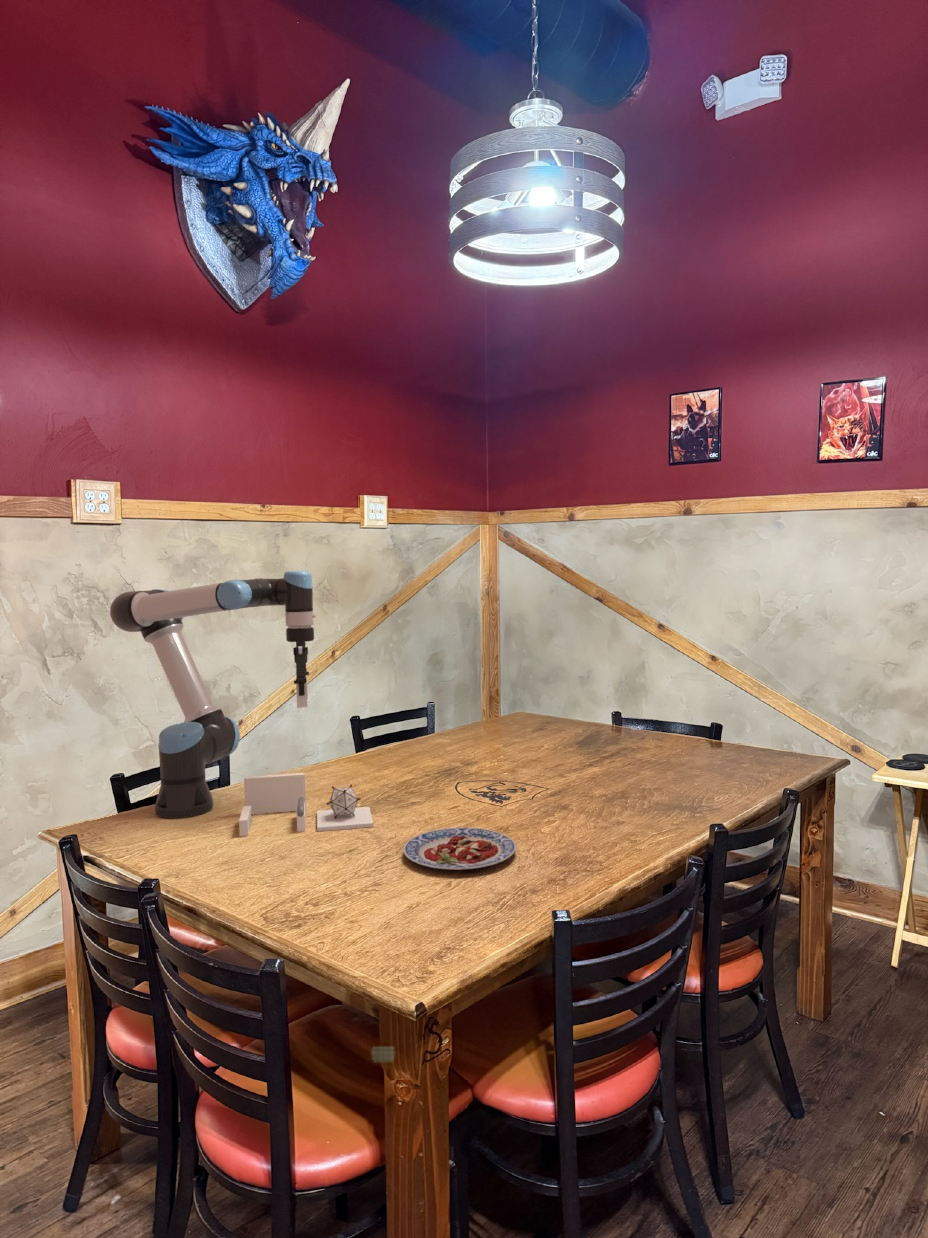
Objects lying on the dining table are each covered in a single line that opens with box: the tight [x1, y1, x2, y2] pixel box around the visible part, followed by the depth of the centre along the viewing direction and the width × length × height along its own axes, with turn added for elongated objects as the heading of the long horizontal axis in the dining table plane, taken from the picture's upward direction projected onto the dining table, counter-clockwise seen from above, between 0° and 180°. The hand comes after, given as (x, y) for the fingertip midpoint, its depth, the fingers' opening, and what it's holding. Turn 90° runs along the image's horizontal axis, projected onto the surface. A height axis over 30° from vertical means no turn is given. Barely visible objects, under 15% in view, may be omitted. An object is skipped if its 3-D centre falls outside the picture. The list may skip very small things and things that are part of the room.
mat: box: [316, 806, 374, 832], centre depth 206 cm, size 14×14×1 cm
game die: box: [326, 784, 361, 819], centre depth 207 cm, size 9×8×10 cm
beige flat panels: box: [238, 772, 307, 837], centre depth 206 cm, size 16×19×10 cm
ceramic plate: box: [402, 827, 517, 871], centre depth 181 cm, size 26×26×3 cm
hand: (302, 703), depth 219 cm, fingers open, 13 cm apart
